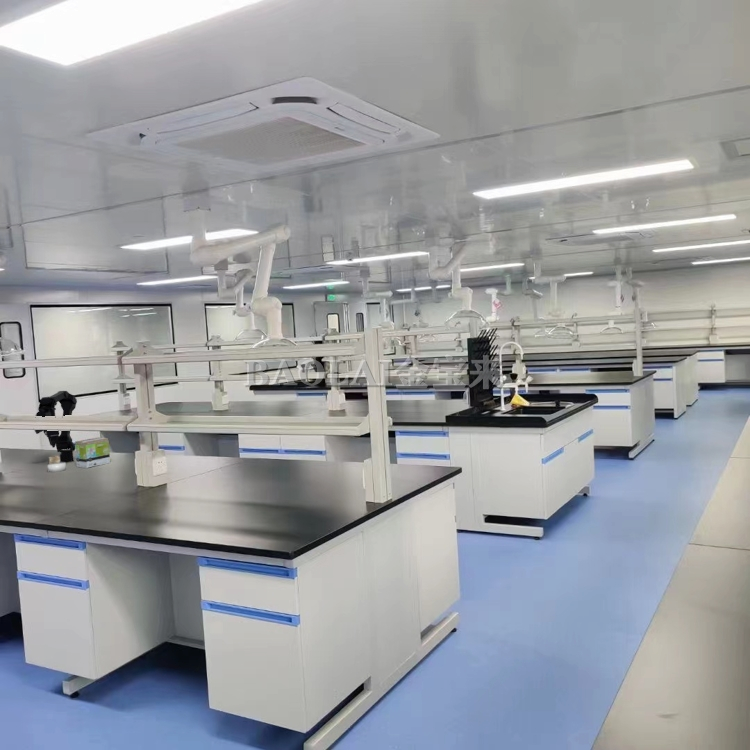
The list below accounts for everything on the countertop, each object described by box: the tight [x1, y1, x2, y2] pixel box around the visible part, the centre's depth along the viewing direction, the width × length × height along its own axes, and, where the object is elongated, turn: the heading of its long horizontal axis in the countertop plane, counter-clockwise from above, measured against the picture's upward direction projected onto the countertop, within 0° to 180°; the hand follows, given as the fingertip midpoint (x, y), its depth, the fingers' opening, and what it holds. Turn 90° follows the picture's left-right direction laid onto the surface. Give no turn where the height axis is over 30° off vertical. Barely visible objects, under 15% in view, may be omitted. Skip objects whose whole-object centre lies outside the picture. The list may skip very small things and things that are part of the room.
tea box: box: [74, 437, 111, 469], centre depth 377 cm, size 15×10×15 cm, turn 148°
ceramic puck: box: [47, 461, 67, 474], centre depth 367 cm, size 9×9×4 cm
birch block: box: [48, 455, 61, 464], centre depth 377 cm, size 5×5×6 cm
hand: (52, 446), depth 377 cm, fingers open, 9 cm apart
